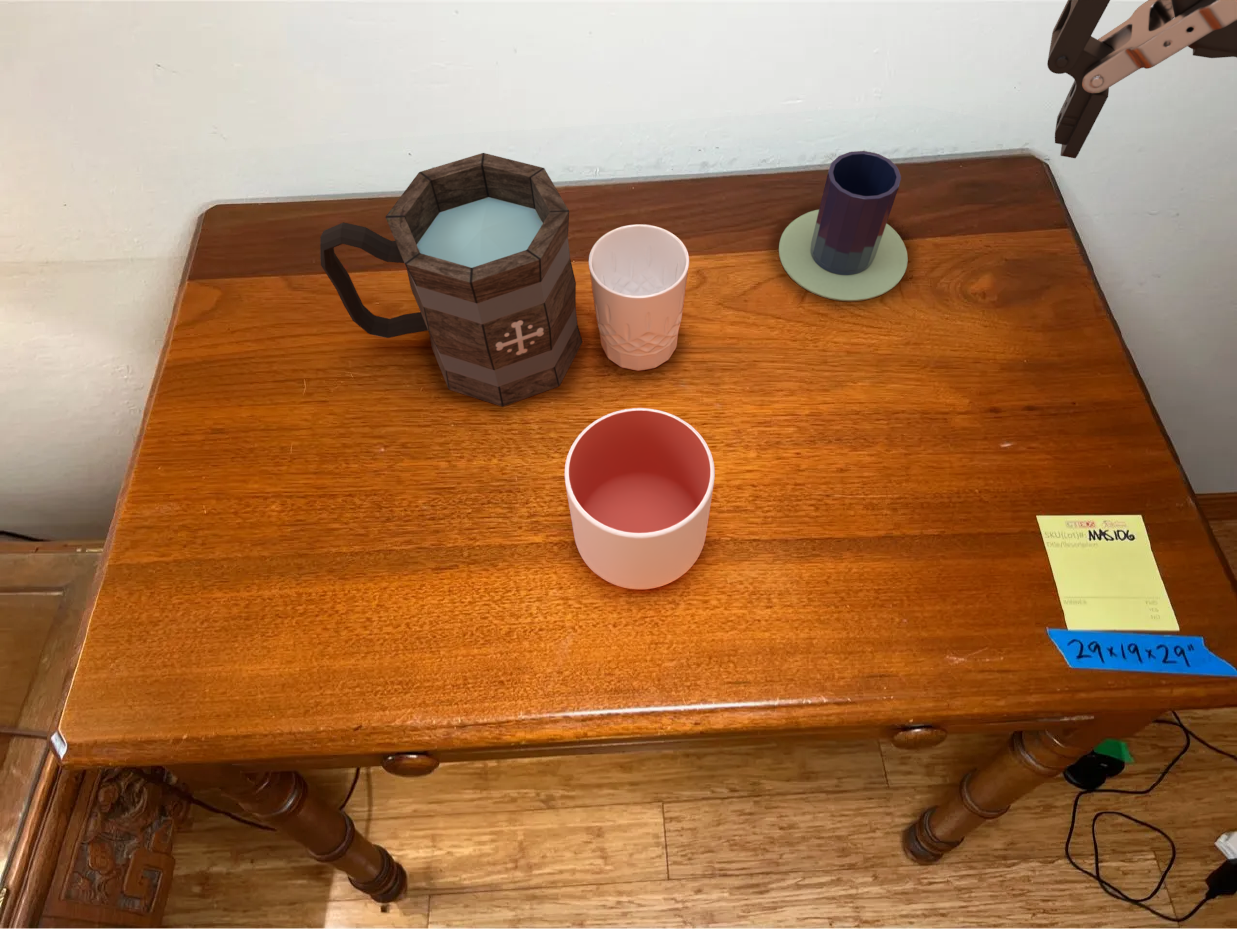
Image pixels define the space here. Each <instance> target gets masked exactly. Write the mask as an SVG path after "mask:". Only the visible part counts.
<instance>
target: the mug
mask: <svg viewBox="0 0 1237 929" xmlns="http://www.w3.org/2000/svg"><path fill="white" fill-rule="evenodd" d="M385 219H386V222H387V225H388V228H389V229H390V231H391V235H392V237H393V239H394V240H391V239H388V238H387V237H384V236H382V235H380V234H379V233H377V232H375V231H374V230H372V229H370V228H368V227H366V226H362V225H357V224H352V223H348V222H340V223H339V224H336V225H333V226H332V227H329V228H326V229H324V230H323V231H322V233H321V235H320V238H319V239H320V240H319V242H320V244H319V248H320V249H319V250H320V251H319V254H320V256H319V258H320V259H319V260H320V266H321V268H322V270H323V271H324V272H325V274H326V276H327V278H328V279H329V280H330V282H331V284H332V285H333V287H334V288H335V290H336V292H337V294H338V296H339V299H340V300H341V303H342V305H343V307H344V308H345V310H346V312H347V314H348V315H349V317H350V319H351V320H352V322H353V323H354V324H356V325H357V326H358V327H360V328H361V329H362V330H363V331H364V332H366V333H367V334H368V335H372V336H375V337H379V338H386V339H390V338H394V337H399V336H404V335H409V334H416V333H423V332H428V334H429V341H430V347H431V349H432V352H433V354H434V357H435V359H436V362H437V365H438V367H439V369H440V372H441V374H442V376H443V379H444V381H445V384H446V386H447V389H448V390H449V391H452V392H455V393H458V394H461V395H465V396H468V397H471V398H474V399H477V400H481V401H484V402H487V403H490V404H493V405H495V406H500V407H502V408H504V407H507V406H509V405H512V404H515V403H517V402H520V401H522V400H525V399H528V398H531V397H534V396H536V395H539V394H543V393H544V392H548V391H551V390H553V389H556V388H559V387H560V386H561V384H562V382H563V380H564V379H565V376H566V374H567V372H568V371H569V369H570V368H571V365H572V363H573V362H574V360H575V358H576V355H577V354H578V352H579V350H580V348H581V346H582V344H583V339H582V335H581V331H580V328H579V324H578V317H577V306H576V304H577V303H576V302H577V301H576V300H577V299H576V298H577V282H576V278H575V273H574V268H573V264H572V260H571V253H570V252H571V251H570V244H569V226H570V225H569V224H570V222H569V221H570V210H569V208H568V206H567V204H566V203H565V201H564V199H563V198H562V196H561V194H560V192H559V191H558V189H557V188H556V186H555V183H554V182H553V181H552V179H551V177H550V176H549V173H548V172H547V170H546V169H545V167H542V166H539V165H538V166H537V165H534V164H530V163H526V162H521V161H518V160H513V159H510V158H506V157H502V156H497V155H494V154H490V153H486V152H481V153H478V154H474V155H471V156H468V157H465V158H461V159H458V160H454V161H451V162H447V163H444V164H441V165H437V166H434V167H431V168H428V169H425V170H421V171H419V172H418V173H417V174H416V176H415V177H414V178H413V180H411V182H410V183H409V185H408V186H407V188H405V190H404V191H403V193H402V194H401V196H399V198H398V200H396V202H395V203H394V205H393V206H392V207H391V209H390V210H389V211H388V213H387V214H386V215H385ZM342 245H346V246H349V247H353V248H357V249H360V250H363V251H364V252H366V253H367V254H370V255H371V256H373V257H374V258H376V259H379V260H381V261H383V262H385V263H397V264H398V263H399V264H404V265H405V267H406V272H407V278H408V282H409V286H410V290H411V291H412V295H413V297H414V300H415V302H416V304H417V307H418V309H419V311H418V312H410V313H405V314H401V315H398V316H395V317H391V318H389V317H385V316H380V315H374V314H373V313H372V312H371V311H370V310H369V308H367V307H366V306H365V305H364V304H363V301H362V300H361V297H360V295H359V293H358V291H357V289H356V286H355V285H354V282H353V280H352V278H351V276H350V274H349V272H348V271H347V269H346V268H345V266H344V264H342V262H341V260H340V258H339V257H338V256H337V254H336V253H335V248H336V247H338V246H342Z"/></svg>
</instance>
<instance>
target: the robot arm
mask: <svg viewBox="0 0 1237 929" xmlns="http://www.w3.org/2000/svg"><path fill="white" fill-rule="evenodd" d="M1110 1H1111V0H1067V1H1066V3H1065V5H1064V6H1063V9H1062V11H1061V13H1060V15H1059V17H1058V20H1056V23H1055V25H1054V28H1053V30H1052V32H1051V39H1050V43H1049V44H1050V45H1049V50H1048V58H1047V68H1048V70H1049V71H1050V72H1051V73H1053V74H1057V75H1061V74H1062V75H1063V74H1067V75H1069V76H1070V77H1072V79H1073V80H1074V81H1073V82H1072V85H1071V87H1070V89H1069V91H1068V93H1067V95H1066V97H1065V100H1064V101H1063V103H1062V106H1061V108H1060V109H1059V112H1058V114H1057V116H1056V124H1055V129H1054V130H1055V131H1054V144H1058V145H1061V146H1060V148H1061V149H1060V155H1059V156H1061V157H1065V158H1071V159H1076V158H1077V157H1078V156H1079V154H1080V152H1081V150H1082V148H1083V147H1084V144H1085V142H1086V140H1087V138H1088V137H1089V134H1090V133H1091V131H1092V129H1093V127H1094V125H1095V123H1096V121H1097V119H1098V117H1099V115H1100V113H1101V111H1102V110H1103V107H1104V106H1105V104H1106V101H1107V100H1108V98H1109V92H1110V88H1111V87H1112V86H1114V85H1115V84H1117V83H1119V82H1120V81H1122V80H1124V79H1125V78H1127V77H1129V76H1130V75H1132V74H1133V73H1135V72H1137V71H1139V70H1141V69H1145V70H1146V69H1147V70H1149V69H1151V68H1153V67H1155V66H1157V65H1159V64H1160V63H1162V62H1164V61H1166V60H1167V59H1169V58H1170V57H1172V56H1175V54H1177V53H1178V52H1181V51H1182V50H1184V49H1185V48H1187V47H1188V48H1189V49H1191V50H1192V56H1195V57H1201V58H1208V59H1222V58H1237V0H1146V1H1145V2H1143V3H1142V4H1141V5H1139V6H1138V7H1136V9H1135V10H1134V11H1133V12H1132V14H1131V16H1130V17H1129V18H1128V19H1126V20H1124V22H1122V23H1120V24H1118V25H1117V26H1116V27H1114V28H1113V29H1111V30H1109V31H1108V32H1107V33H1105V34H1104V35H1102V36H1100V37H1099V38H1098V39H1097V38H1095V37H1094V36H1092V35H1093V33H1094V31H1095V29H1096V27H1097V26H1098V24H1099V22H1100V20H1101V19H1102V17H1103V15H1104V13H1105V11H1106V9H1107V7H1108V6H1109V4H1110Z"/></svg>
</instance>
